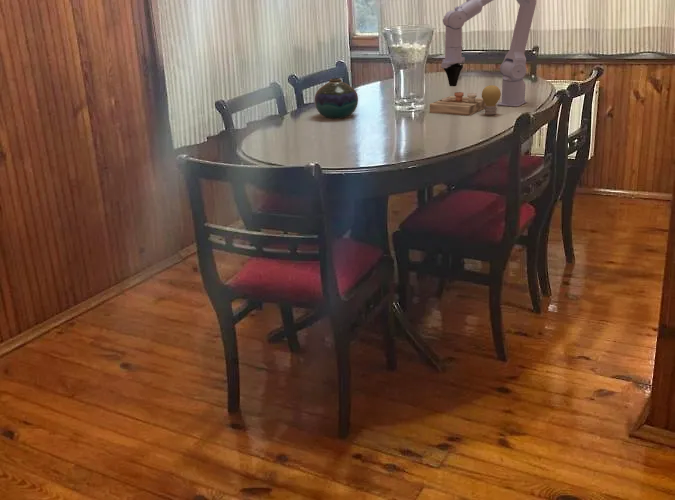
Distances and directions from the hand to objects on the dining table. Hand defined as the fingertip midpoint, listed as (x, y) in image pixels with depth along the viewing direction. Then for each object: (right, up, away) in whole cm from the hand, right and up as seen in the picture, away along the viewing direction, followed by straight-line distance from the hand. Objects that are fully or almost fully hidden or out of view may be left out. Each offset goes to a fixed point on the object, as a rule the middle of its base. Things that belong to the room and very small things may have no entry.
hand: (453, 86), depth 263 cm
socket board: (+2, -8, +2) cm, 9 cm away
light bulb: (+12, -12, -8) cm, 18 cm away
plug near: (+6, -6, -2) cm, 9 cm away
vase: (-41, -11, 0) cm, 43 cm away
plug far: (-2, -6, +4) cm, 8 cm away
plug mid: (+2, -5, +1) cm, 6 cm away
